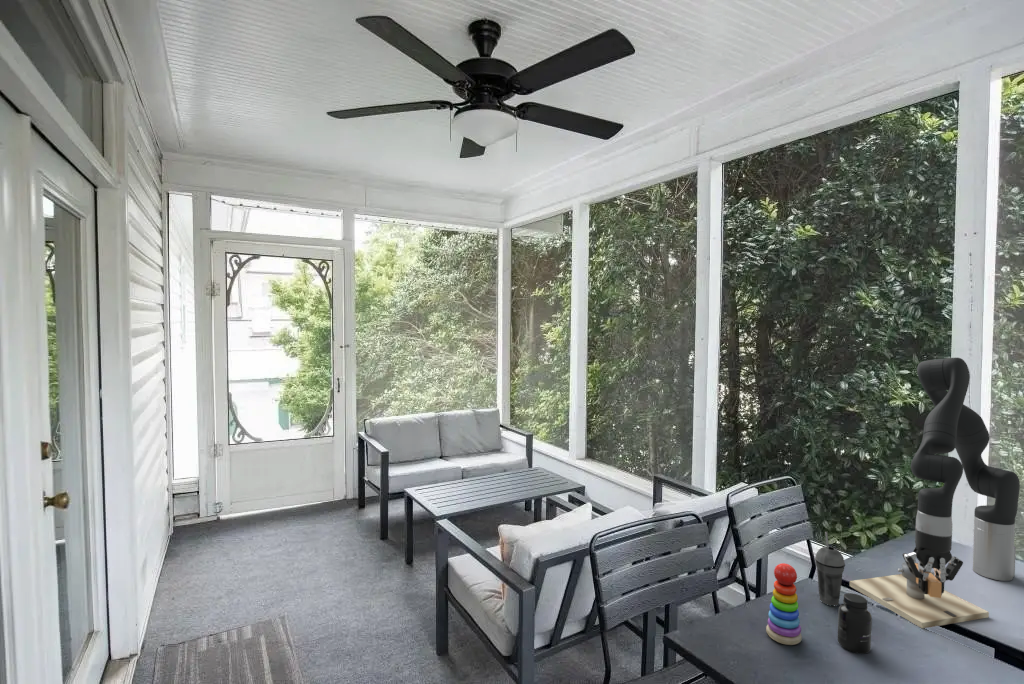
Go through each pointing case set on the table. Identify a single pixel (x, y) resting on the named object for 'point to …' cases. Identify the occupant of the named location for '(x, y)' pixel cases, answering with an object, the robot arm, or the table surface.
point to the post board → (918, 601)
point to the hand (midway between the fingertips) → (930, 593)
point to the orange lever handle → (933, 583)
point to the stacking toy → (784, 607)
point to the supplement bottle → (854, 624)
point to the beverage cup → (829, 573)
